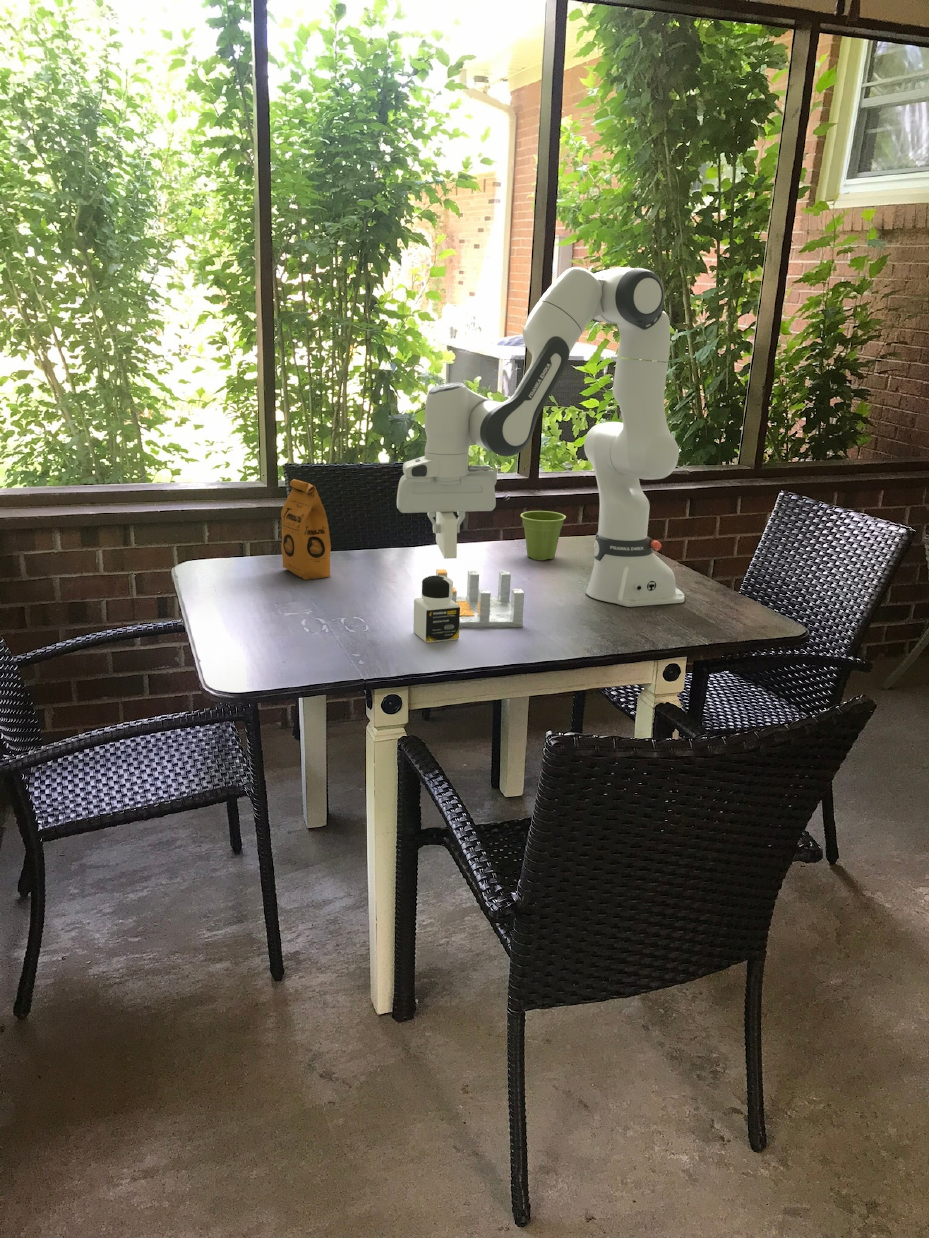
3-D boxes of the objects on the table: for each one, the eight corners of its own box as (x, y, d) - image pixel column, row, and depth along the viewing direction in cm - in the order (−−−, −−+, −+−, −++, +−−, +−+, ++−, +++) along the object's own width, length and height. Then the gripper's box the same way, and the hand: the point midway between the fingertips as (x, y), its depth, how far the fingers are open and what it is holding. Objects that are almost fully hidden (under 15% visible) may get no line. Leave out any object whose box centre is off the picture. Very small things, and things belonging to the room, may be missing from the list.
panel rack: (506, 601, 216) (507, 568, 213) (522, 627, 199) (524, 591, 196) (435, 601, 213) (436, 568, 211) (445, 628, 196) (447, 592, 194)
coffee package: (297, 582, 224) (295, 488, 217) (277, 569, 234) (275, 479, 227) (336, 577, 229) (336, 485, 222) (315, 565, 239) (314, 476, 232)
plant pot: (514, 551, 260) (517, 510, 256) (558, 552, 261) (560, 511, 258) (522, 562, 249) (524, 520, 245) (567, 563, 250) (570, 520, 247)
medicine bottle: (425, 643, 187) (427, 584, 183) (412, 632, 193) (414, 574, 190) (459, 640, 190) (461, 581, 186) (445, 628, 196) (447, 571, 192)
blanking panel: (447, 541, 207) (447, 504, 205) (456, 558, 194) (456, 519, 191) (435, 541, 207) (436, 504, 204) (444, 558, 194) (444, 519, 191)
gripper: (494, 462, 199) (493, 527, 204) (395, 463, 196) (396, 530, 201) (500, 467, 193) (498, 534, 198) (398, 469, 190) (398, 537, 195)
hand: (446, 532), depth 199 cm, fingers closed on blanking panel, 2 cm apart
